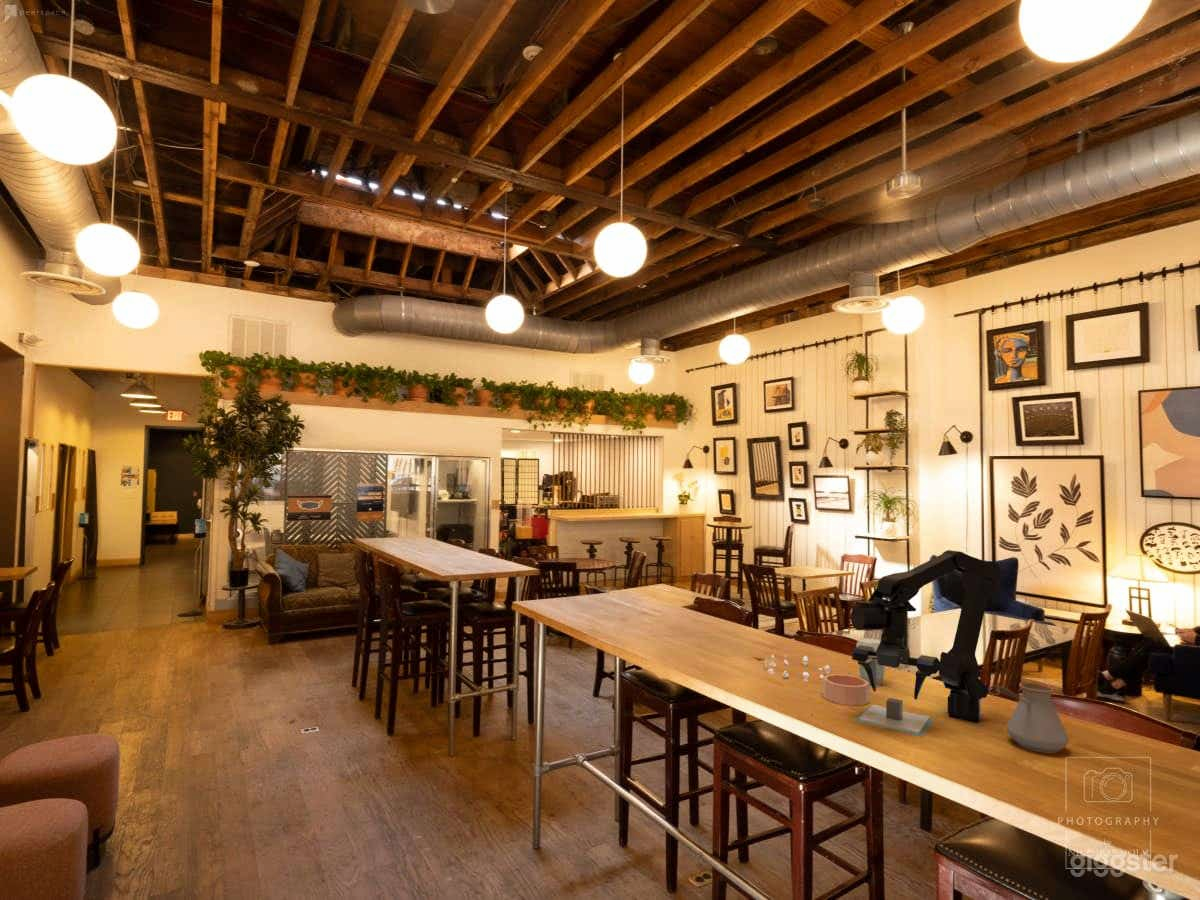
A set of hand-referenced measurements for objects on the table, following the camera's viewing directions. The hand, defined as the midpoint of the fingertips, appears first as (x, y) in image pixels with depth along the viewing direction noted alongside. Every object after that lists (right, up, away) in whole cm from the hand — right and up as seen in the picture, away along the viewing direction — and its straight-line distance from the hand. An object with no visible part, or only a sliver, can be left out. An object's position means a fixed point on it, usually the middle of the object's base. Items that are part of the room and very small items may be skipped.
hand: (894, 695), depth 156 cm
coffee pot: (+21, -6, -15) cm, 27 cm away
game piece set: (-11, -9, +42) cm, 44 cm away
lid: (0, -6, 0) cm, 6 cm away
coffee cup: (+8, -9, +32) cm, 34 cm away
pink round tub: (-6, -7, +15) cm, 18 cm away
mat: (0, -6, 0) cm, 6 cm away
